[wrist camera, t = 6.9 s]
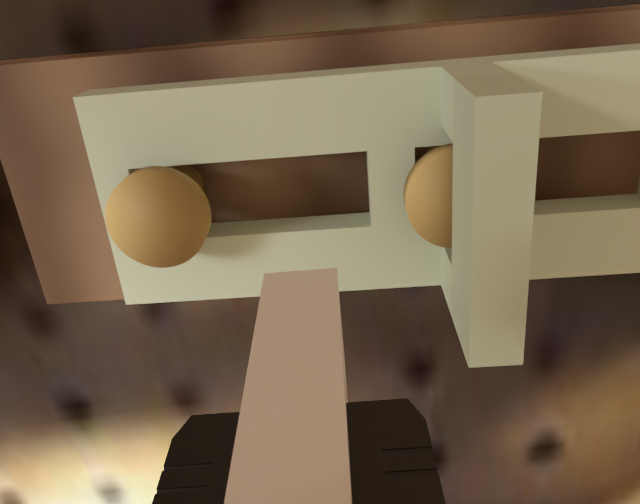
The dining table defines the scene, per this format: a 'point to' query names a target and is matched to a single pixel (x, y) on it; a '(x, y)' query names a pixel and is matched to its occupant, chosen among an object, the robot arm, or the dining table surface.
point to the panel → (391, 178)
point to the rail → (263, 174)
